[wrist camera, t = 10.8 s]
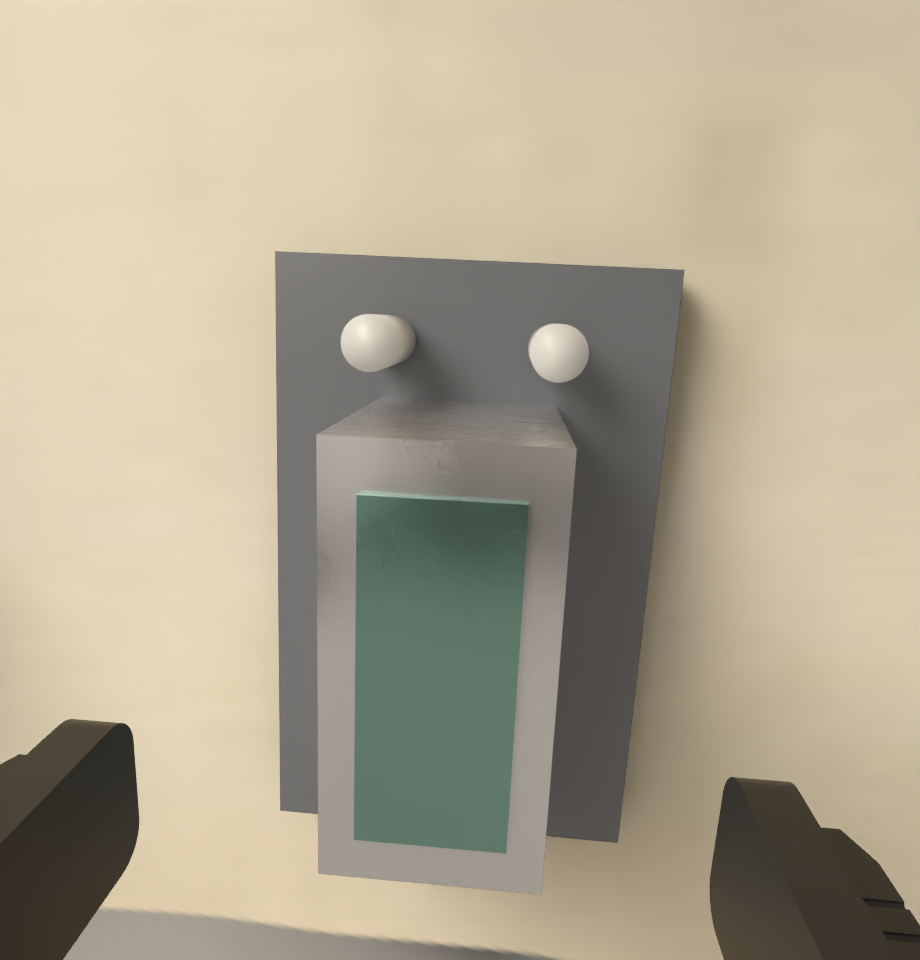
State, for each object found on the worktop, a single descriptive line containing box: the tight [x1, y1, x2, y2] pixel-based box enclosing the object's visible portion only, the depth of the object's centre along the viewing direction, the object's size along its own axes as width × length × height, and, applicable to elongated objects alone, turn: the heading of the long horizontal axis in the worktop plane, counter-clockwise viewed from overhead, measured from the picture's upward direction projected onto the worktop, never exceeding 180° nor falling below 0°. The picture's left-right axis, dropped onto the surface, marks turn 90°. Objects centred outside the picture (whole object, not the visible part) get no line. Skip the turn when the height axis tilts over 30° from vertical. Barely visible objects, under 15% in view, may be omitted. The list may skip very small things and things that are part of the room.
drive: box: [316, 398, 577, 895], centre depth 16 cm, size 9×4×6 cm, turn 178°
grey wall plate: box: [275, 251, 684, 843], centre depth 18 cm, size 16×10×4 cm, turn 177°
